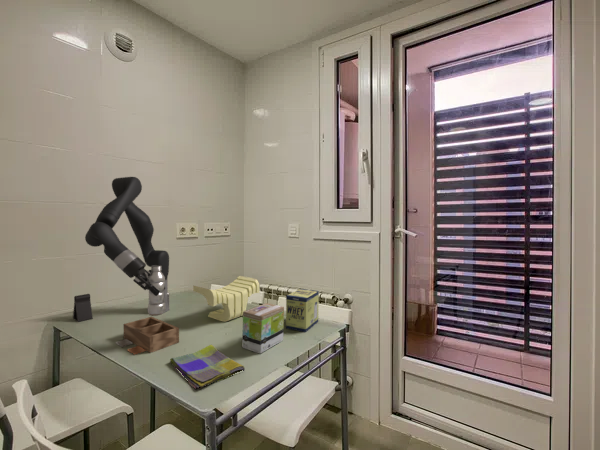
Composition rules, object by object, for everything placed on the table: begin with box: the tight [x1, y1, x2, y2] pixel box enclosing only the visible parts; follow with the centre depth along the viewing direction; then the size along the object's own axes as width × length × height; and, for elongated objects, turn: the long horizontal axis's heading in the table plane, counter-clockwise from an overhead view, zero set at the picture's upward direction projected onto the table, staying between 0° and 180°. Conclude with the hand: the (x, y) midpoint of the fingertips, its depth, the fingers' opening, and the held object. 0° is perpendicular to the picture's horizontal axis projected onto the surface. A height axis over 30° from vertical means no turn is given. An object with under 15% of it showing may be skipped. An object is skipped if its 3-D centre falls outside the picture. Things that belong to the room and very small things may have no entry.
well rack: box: [115, 316, 180, 356], centre depth 122 cm, size 16×23×6 cm
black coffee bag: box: [72, 293, 93, 323], centre depth 149 cm, size 9×6×12 cm, turn 51°
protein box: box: [285, 288, 320, 333], centre depth 142 cm, size 10×16×16 cm
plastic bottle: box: [147, 265, 166, 317], centre depth 120 cm, size 6×7×20 cm
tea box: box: [241, 302, 285, 354], centre depth 121 cm, size 15×10×15 cm, turn 148°
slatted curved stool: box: [192, 275, 260, 323], centre depth 154 cm, size 30×16×18 cm, turn 144°
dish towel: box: [169, 344, 245, 390], centre depth 102 cm, size 18×24×3 cm
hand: (161, 292), depth 120 cm, fingers closed on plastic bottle, 6 cm apart
